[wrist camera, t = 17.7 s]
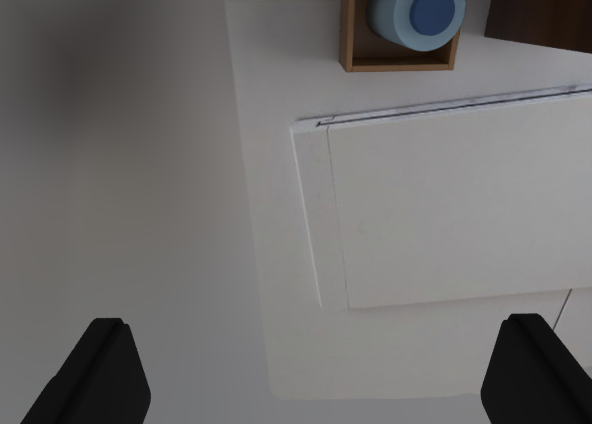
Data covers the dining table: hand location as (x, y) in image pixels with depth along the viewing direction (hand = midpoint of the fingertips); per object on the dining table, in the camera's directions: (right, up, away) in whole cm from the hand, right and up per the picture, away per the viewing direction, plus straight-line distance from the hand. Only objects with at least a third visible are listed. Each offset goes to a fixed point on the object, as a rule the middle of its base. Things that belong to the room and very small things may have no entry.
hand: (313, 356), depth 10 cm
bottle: (+8, +22, +25) cm, 35 cm away
